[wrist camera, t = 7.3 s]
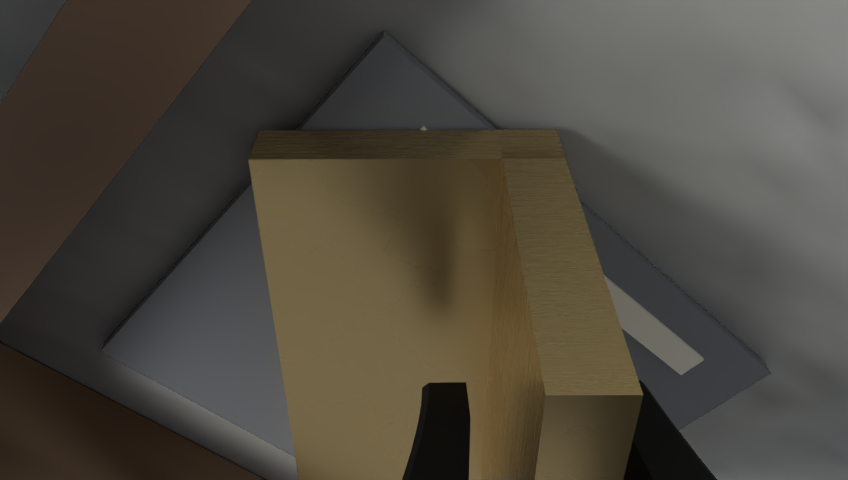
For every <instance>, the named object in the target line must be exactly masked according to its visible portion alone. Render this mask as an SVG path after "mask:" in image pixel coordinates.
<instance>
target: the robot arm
mask: <svg viewBox="0 0 848 480" xmlns="http://www.w3.org/2000/svg"><path fill="white" fill-rule="evenodd" d="M639 383H640V386H641V389H642V392H643V399H642V403H641V407H640V411H639V416H638V420H637V424H636V428H635V432H634V437H633V441H632V445H631V449H630V453H629V457H628V462H627V466H626V470H625V474H624V478H623V480H717V479H716V478H715V477H714V475H713V474H712V473H711V472H710V470H709V469H708V468H707V467H706V466H705V464H704V463H703V462H702V461H701V459H700V458H699V457H698V455H697V454H696V453H695V452H694V450H693V449H692V448H691V446H690V445H689V444H688V442H687V441H686V440H685V439H684V437H683V436H682V435H681V433H680V432H679V431H678V429H677V428H676V427H675V425H674V424H673V423H672V421H671V420H670V418H669V417H668V416H667V414H666V413H665V412H664V410H663V409H662V407H661V406H660V405H659V403H658V402H657V400H656V399H655V398H654V396H653V395H652V393H651V392H650V391H649V389H648V388H647V386H646V385H645V384H644V383H643V382H642V381H641V380H639ZM470 422H471V418H470V409H469V401H468V393H467V386H466V382H441V383H428V384H427V385H425V386H424V387H422V400H421V408H420V414H419V420H418V425H417V429H416V434H415V437H414V441H413V445H412V449H411V453H410V456H409V459H408V462H407V466H406V469H405V472H404V475H403V478H402V480H469V455H470Z"/></svg>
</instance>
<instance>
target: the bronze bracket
mask: <svg viewBox="0 0 848 480" xmlns="http://www.w3.org/2000/svg"><path fill="white" fill-rule="evenodd" d="M248 162H249V168H250V175H251V181H252V187H253V193H254V200H255V206H256V212H257V219H258V225H259V231H260V238H261V244H262V250H263V256H264V263H265V269H266V275H267V282H268V288H269V294H270V301H271V307H272V313H273V319H274V326H275V332H276V338H277V345H278V351H279V357H280V364H281V370H282V376H283V383H284V389H285V395H286V401H287V408H288V414H289V420H290V427H291V433H292V439H293V446H294V452H295V458H296V464H297V471H298V477H299V480H402V478H403V475H404V472H405V469H406V466H407V462H408V459H409V456H410V453H411V449H412V445H413V441H414V437H415V434H416V429H417V425H418V420H419V414H420V408H421V400H422V387H424V386H425V385H427V384H428V383H441V382H466V386H467V393H468V401H469V409H470V418H471V422H470V455H469V480H623V478H624V474H625V470H626V466H627V462H628V457H629V453H630V449H631V445H632V441H633V437H634V432H635V428H636V424H637V420H638V416H639V411H640V407H641V403H642V399H643V392H642V389H641V386H640V383H639V380H638V377H637V374H636V371H635V368H634V365H633V362H632V359H631V356H630V353H629V350H628V347H627V344H626V341H625V338H624V334H623V331H622V328H621V325H620V322H619V319H618V316H617V313H616V310H615V307H614V304H613V301H612V298H611V295H610V292H609V289H608V286H607V283H606V280H605V277H604V274H603V271H602V267H601V264H600V261H599V258H598V255H597V252H596V249H595V246H594V243H593V240H592V237H591V234H590V231H589V228H588V225H587V222H586V219H585V216H584V213H583V210H582V207H581V204H580V201H579V197H578V194H577V191H576V188H575V185H574V182H573V179H572V176H571V173H570V170H569V167H568V164H567V161H566V158H565V155H564V152H563V149H562V146H561V143H560V140H559V137H558V134H557V130H556V129H551V130H325V131H259V133H258V136H257V138H256V141H255V143H254V146H253V149H252V151H251V154H250V156H249V159H248Z"/></svg>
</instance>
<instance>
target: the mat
mask: <svg viewBox="0 0 848 480" xmlns="http://www.w3.org/2000/svg"><path fill="white" fill-rule="evenodd" d="M325 130H497V129H496V128H495V127H494V126H493V125H492V124H490V123H489V122H488V121H487V120H486V119H485V118H484V117H482V116H481V115H480V114H479V113H478V112H477V111H476V110H474V109H473V108H472V107H471V106H470V105H469V104H467V103H466V102H465V101H464V100H463V99H462V98H461V97H459V96H458V95H457V94H456V93H455V92H454V91H453V90H451V89H450V88H449V87H448V86H447V85H446V84H445V83H443V82H442V81H441V80H440V79H439V78H438V77H437V76H435V75H434V74H433V73H432V72H431V71H430V70H428V69H427V68H426V67H425V66H424V65H423V64H422V63H420V62H419V61H418V60H417V59H416V58H415V57H414V56H412V55H411V54H410V53H409V52H408V51H407V50H406V49H404V48H403V47H402V46H401V45H400V44H399V43H398V42H396V41H395V40H394V39H393V38H392V37H391V36H389V35H388V34H387V33H386V32H385V31H384V32H383V33H382V34H381V35H380V36H379V37H378V38H377V39H376V41H375V42H374V43H373V44H372V45H371V46H370V47H369V48H368V49H367V51H366V52H365V53H364V54H363V55H362V56H361V57H360V58H359V60H358V61H357V62H356V63H355V64H354V65H353V66H352V67H351V68H350V70H349V71H348V72H347V73H346V74H345V75H344V76H343V77H342V78H341V80H340V81H339V82H338V83H337V84H336V85H335V86H334V87H333V88H332V90H331V91H330V92H329V93H328V94H327V95H326V96H325V97H324V99H323V100H322V101H321V102H320V103H319V104H318V105H317V106H316V107H315V109H314V110H313V111H312V112H311V113H310V114H309V115H308V116H307V117H306V119H305V120H304V121H303V122H302V123H301V124H300V125H299V126H298V128H297V129H296V130H295V131H325ZM580 204H581V207H582V210H583V213H584V216H585V219H586V222H587V225H588V228H589V231H590V234H591V237H592V240H593V243H594V246H595V249H596V252H597V255H598V258H599V261H600V264H601V267H602V271H603V274H604V277H605V280H606V283H607V286H608V289H609V292H610V295H611V298H612V301H613V304H614V307H615V310H616V313H617V316H618V319H619V322H620V325H621V328H622V331H623V334H624V338H625V341H626V344H627V347H628V350H629V353H630V356H631V359H632V362H633V365H634V368H635V371H636V374H637V377H638V380H641V381H642V382H643V383H644V384H645V385H646V386H647V388H648V389H649V391H650V392H651V393H652V395H653V396H654V398H655V399H656V400H657V402H658V403H659V405H660V406H661V407H662V409H663V410H664V412H665V413H666V414H667V416H668V417H669V418H670V420H671V421H672V423H673V424H674V425H675V427H676V428H677V429H678V430H680V429H681V428H683V427H685V426H686V425H688V424H689V423H691V422H693V421H694V420H696V419H697V418H699V417H701V416H702V415H704V414H706V413H707V412H709V411H710V410H712V409H714V408H715V407H717V406H718V405H720V404H722V403H723V402H725V401H726V400H728V399H730V398H731V397H733V396H735V395H736V394H738V393H739V392H741V391H743V390H744V389H746V388H747V387H749V386H751V385H752V384H754V383H755V382H757V381H759V380H760V379H762V378H764V377H765V376H767V375H768V374H770V371H769V369H768V367H767V365H766V364H765V362H763V361H762V360H761V359H760V358H759V357H758V356H756V355H755V354H754V353H753V352H752V351H751V350H750V349H748V348H747V347H746V346H745V345H744V344H743V343H742V342H740V341H739V340H738V339H737V338H736V337H735V336H734V335H732V334H731V333H730V332H729V331H728V330H727V329H726V328H724V327H723V326H722V325H721V324H720V323H719V322H717V321H716V320H715V319H714V318H713V317H712V316H711V315H709V314H708V313H707V312H706V311H705V310H704V309H703V308H701V307H700V306H699V305H698V304H697V303H696V302H695V301H693V300H692V299H691V298H690V297H689V296H688V295H687V294H685V293H684V292H683V291H682V290H681V289H680V288H678V287H677V286H676V285H675V284H674V283H673V282H672V281H670V280H669V279H668V278H667V277H666V276H665V275H664V274H662V273H661V272H660V271H659V270H658V269H657V268H656V267H654V266H653V265H652V264H651V263H650V262H649V261H648V260H646V259H645V258H644V257H643V256H642V255H641V254H640V253H638V252H637V251H636V250H635V249H634V248H633V247H631V246H630V245H629V244H628V243H627V242H626V241H625V240H623V239H622V238H621V237H620V236H619V235H618V234H617V233H615V232H614V231H613V230H612V229H611V228H610V227H609V226H607V225H606V224H605V223H604V222H603V221H602V220H601V219H599V218H598V217H597V216H596V215H595V214H594V213H592V212H591V211H590V210H589V209H588V208H587V207H586V206H584V205H583V204H582V203H581V202H580ZM100 352H102V353H104V354H106V355H108V356H110V357H111V358H113V359H115V360H117V361H119V362H121V363H123V364H124V365H126V366H128V367H130V368H132V369H134V370H135V371H137V372H139V373H141V374H143V375H145V376H146V377H148V378H150V379H152V380H154V381H156V382H158V383H159V384H161V385H163V386H165V387H167V388H169V389H170V390H172V391H174V392H176V393H178V394H180V395H181V396H183V397H185V398H187V399H189V400H191V401H193V402H194V403H196V404H198V405H200V406H202V407H204V408H205V409H207V410H209V411H211V412H213V413H215V414H216V415H218V416H220V417H222V418H224V419H226V420H228V421H229V422H231V423H233V424H235V425H237V426H239V427H240V428H242V429H244V430H246V431H248V432H250V433H251V434H253V435H255V436H257V437H259V438H261V439H263V440H264V441H266V442H268V443H270V444H272V445H274V446H275V447H277V448H279V449H281V450H283V451H285V452H286V453H288V454H290V455H292V456H294V457H295V452H294V446H293V439H292V433H291V427H290V420H289V414H288V408H287V401H286V395H285V389H284V383H283V376H282V370H281V364H280V357H279V351H278V345H277V338H276V332H275V326H274V319H273V313H272V307H271V301H270V294H269V288H268V282H267V275H266V269H265V263H264V256H263V250H262V244H261V238H260V231H259V225H258V219H257V212H256V206H255V200H254V193H253V187H252V181H251V180H250V181H249V182H248V183H247V184H246V185H245V187H244V188H243V189H242V190H241V191H240V192H239V193H238V194H237V196H236V197H235V198H234V199H233V200H232V201H231V202H230V203H229V204H228V206H227V207H226V208H225V209H224V210H223V211H222V212H221V213H220V214H219V216H218V217H217V218H216V219H215V220H214V221H213V222H212V223H211V224H210V226H209V227H208V228H207V229H206V230H205V231H204V232H203V233H202V235H201V236H200V237H199V238H198V239H197V240H196V241H195V242H194V243H193V245H192V246H191V247H190V248H189V249H188V250H187V251H186V252H185V253H184V255H183V256H182V257H181V258H180V259H179V260H178V261H177V262H176V264H175V265H174V266H173V267H172V268H171V269H170V270H169V271H168V272H167V274H166V275H165V276H164V277H163V278H162V279H161V280H160V281H159V282H158V284H157V285H156V286H155V287H154V288H153V289H152V290H151V291H150V293H149V294H148V295H147V296H146V297H145V298H144V299H143V300H142V301H141V303H140V304H139V305H138V306H137V307H136V308H135V309H134V310H133V311H132V313H131V314H130V315H129V316H128V317H127V318H126V319H125V320H124V321H123V323H122V324H121V325H120V326H119V327H118V328H117V329H116V330H115V332H114V333H113V334H112V335H111V336H110V337H109V338H108V339H107V340H106V342H105V343H104V345H103V347H102V349H101V351H100Z"/></svg>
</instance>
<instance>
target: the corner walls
mask: <svg viewBox="0 0 848 480" xmlns="http://www.w3.org/2000/svg"><path fill="white" fill-rule="evenodd" d="M250 2H251V0H66V2H65V4H64V5H63V7H62V8H61V10H60V11H59V13H58V14H57V16H56V18H55V19H54V21H53V22H52V24H51V25H50V27H49V29H48V30H47V32H46V33H45V35H44V36H43V38H42V39H41V41H40V43H39V44H38V46H37V47H36V49H35V50H34V52H33V54H32V55H31V57H30V58H29V60H28V61H27V63H26V64H25V66H24V68H23V69H22V71H21V72H20V74H19V75H18V77H17V78H16V80H15V82H14V83H13V85H12V86H11V88H10V89H9V91H8V93H7V94H6V96H5V97H4V99H3V100H2V102H1V103H0V323H1V322H2V320H3V319H4V318H5V317H6V315H7V314H8V313H9V311H10V310H11V309H12V308H13V306H14V305H15V304H16V302H17V301H18V300H19V299H20V297H21V296H22V295H23V293H24V292H25V291H26V290H27V288H28V287H29V286H30V284H31V283H32V282H33V281H34V279H35V278H36V277H37V275H38V274H39V273H40V272H41V270H42V269H43V268H44V266H45V265H46V264H47V263H48V261H49V260H50V259H51V257H52V256H53V255H54V254H55V252H56V251H57V250H58V248H59V247H60V246H61V245H62V243H63V242H64V241H65V239H66V238H67V237H68V236H69V234H70V233H71V232H72V230H73V229H74V228H75V227H76V225H77V224H78V223H79V221H80V220H81V219H82V218H83V216H84V215H85V214H86V212H87V211H88V210H89V209H90V207H91V206H92V205H93V203H94V202H95V201H96V200H97V198H98V197H99V196H100V194H101V193H102V192H103V191H104V189H105V188H106V187H107V185H108V184H109V183H110V182H111V180H112V179H113V178H114V176H115V175H116V174H117V173H118V171H119V170H120V169H121V167H122V166H123V165H124V164H125V162H126V161H127V160H128V158H129V157H130V156H131V155H132V153H133V152H134V151H135V149H136V148H137V147H138V146H139V144H140V143H141V142H142V140H143V139H144V138H145V137H146V135H147V134H148V133H149V131H150V130H151V129H152V128H153V126H154V125H155V124H156V122H157V121H158V120H159V119H160V117H161V116H162V115H163V113H164V112H165V111H166V110H167V108H168V107H169V106H170V104H171V103H172V102H173V101H174V99H175V98H176V97H177V95H178V94H179V93H180V92H181V90H182V89H183V88H184V86H185V85H186V84H187V83H188V81H189V80H190V79H191V77H192V76H193V75H194V74H195V72H196V71H197V70H198V68H199V67H200V66H201V65H202V63H203V62H204V61H205V59H206V58H207V57H208V56H209V54H210V53H211V52H212V50H213V49H214V48H215V47H216V45H217V44H218V43H219V41H220V40H221V39H222V38H223V36H224V35H225V34H226V32H227V31H228V30H229V29H230V27H231V26H232V25H233V23H234V22H235V21H236V20H237V18H238V17H239V16H240V15H241V13H242V12H243V11H244V9H245V8H246V7H247V6H248V4H249V3H250ZM0 480H264V479H262V478H260V477H258V476H256V475H254V474H252V473H250V472H248V471H247V470H245V469H243V468H241V467H239V466H237V465H235V464H233V463H231V462H229V461H227V460H225V459H223V458H221V457H219V456H218V455H216V454H214V453H212V452H210V451H208V450H206V449H204V448H202V447H200V446H198V445H196V444H194V443H192V442H191V441H189V440H187V439H185V438H183V437H181V436H179V435H177V434H175V433H173V432H171V431H169V430H167V429H165V428H163V427H162V426H160V425H158V424H156V423H154V422H152V421H150V420H148V419H146V418H144V417H142V416H140V415H138V414H136V413H134V412H133V411H131V410H129V409H127V408H125V407H123V406H121V405H119V404H117V403H115V402H113V401H111V400H109V399H107V398H106V397H104V396H102V395H100V394H98V393H96V392H94V391H92V390H90V389H88V388H86V387H84V386H82V385H80V384H78V383H77V382H75V381H73V380H71V379H69V378H67V377H65V376H63V375H61V374H59V373H57V372H55V371H53V370H51V369H50V368H48V367H46V366H44V365H42V364H40V363H38V362H36V361H34V360H32V359H30V358H28V357H26V356H24V355H22V354H21V353H19V352H17V351H15V350H13V349H11V348H9V347H7V346H5V345H3V344H1V343H0Z"/></svg>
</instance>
